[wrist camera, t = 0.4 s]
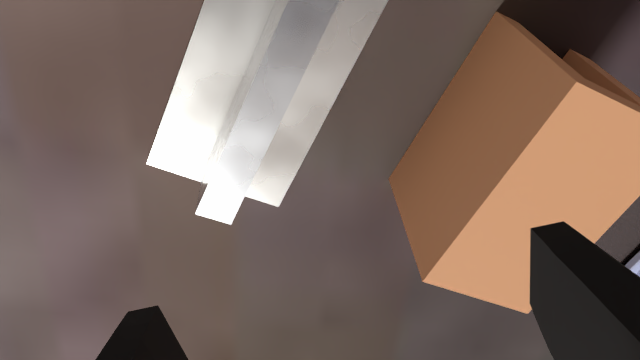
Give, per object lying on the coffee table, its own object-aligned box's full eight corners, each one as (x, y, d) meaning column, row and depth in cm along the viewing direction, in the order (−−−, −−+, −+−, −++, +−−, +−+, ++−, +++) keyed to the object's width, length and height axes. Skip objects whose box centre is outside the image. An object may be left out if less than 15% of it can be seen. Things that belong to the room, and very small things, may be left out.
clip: (589, 58, 19) (693, 139, 14) (473, 209, 22) (527, 313, 17) (495, 10, 17) (576, 81, 13) (388, 178, 21) (422, 281, 16)
